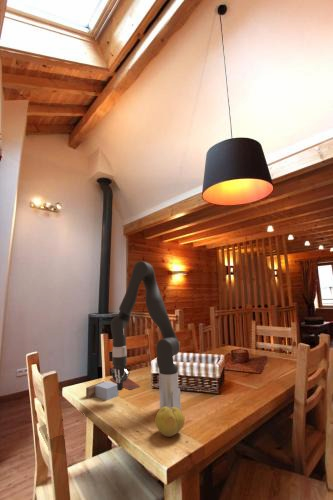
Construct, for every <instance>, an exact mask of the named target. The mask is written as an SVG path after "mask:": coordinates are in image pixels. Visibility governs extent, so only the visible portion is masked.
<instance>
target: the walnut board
mask: <svg viewBox="0 0 333 500" xmlns="http://www.w3.org/2000/svg"><path fill="white" fill-rule="evenodd" d="M103 382H105V381H101V382H97V383H95V384H92V385H90V386H86V387H85V388H86V389H85V391H86V392H85V398H87V399H89V400H90V399H92V398H95V397H96V396H95V385H97V384H100V383H103Z"/></svg>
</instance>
